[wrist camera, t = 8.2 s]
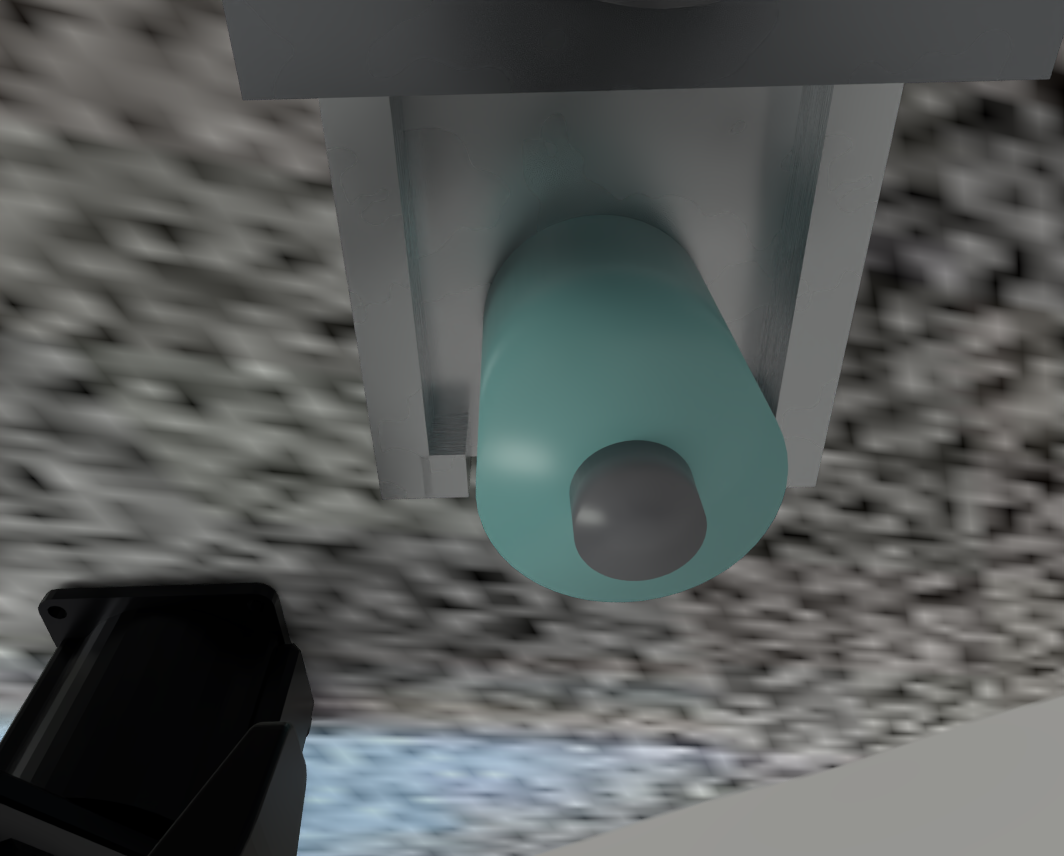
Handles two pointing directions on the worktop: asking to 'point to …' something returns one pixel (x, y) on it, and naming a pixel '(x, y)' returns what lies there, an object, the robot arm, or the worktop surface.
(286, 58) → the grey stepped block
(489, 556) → the worktop surface
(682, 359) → the teal bottle with cap
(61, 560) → the worktop surface
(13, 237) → the worktop surface
